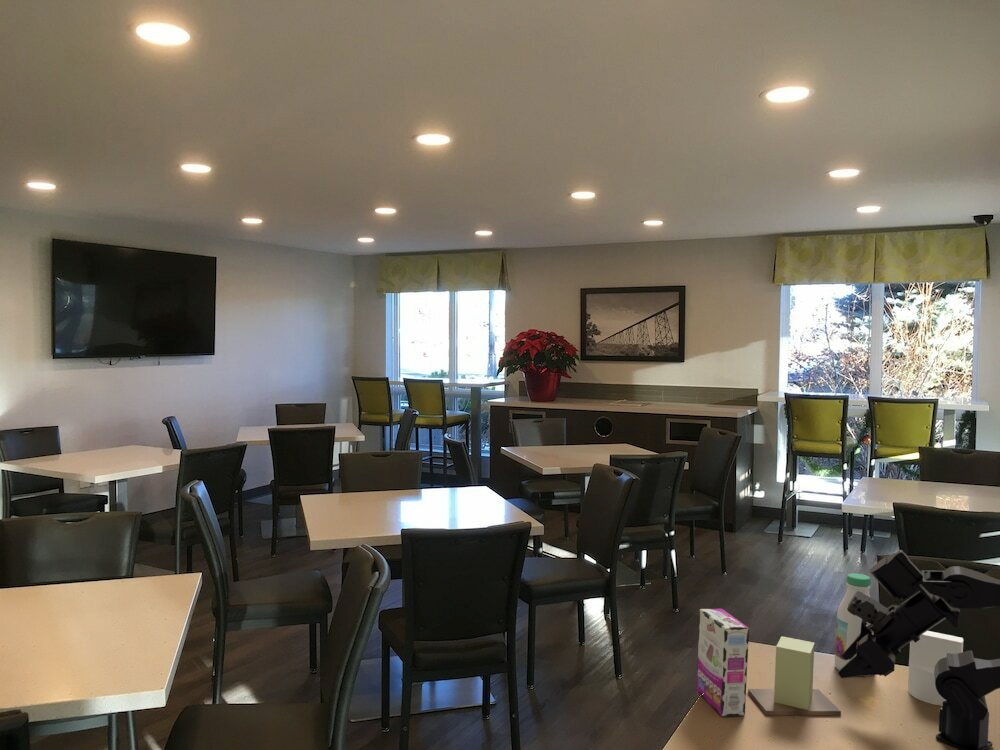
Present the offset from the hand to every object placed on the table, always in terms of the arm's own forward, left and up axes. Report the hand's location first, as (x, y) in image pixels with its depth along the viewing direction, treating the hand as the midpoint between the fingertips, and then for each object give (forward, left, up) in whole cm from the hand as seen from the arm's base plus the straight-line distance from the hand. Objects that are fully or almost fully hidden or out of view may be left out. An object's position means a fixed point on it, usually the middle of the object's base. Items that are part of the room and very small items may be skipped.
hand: (841, 666), depth 143 cm
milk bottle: (+11, -21, -9) cm, 25 cm away
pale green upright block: (+7, +4, -8) cm, 12 cm away
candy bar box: (+14, +16, -9) cm, 23 cm away
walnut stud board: (+7, +4, -9) cm, 12 cm away
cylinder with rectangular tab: (-4, -24, -9) cm, 26 cm away
